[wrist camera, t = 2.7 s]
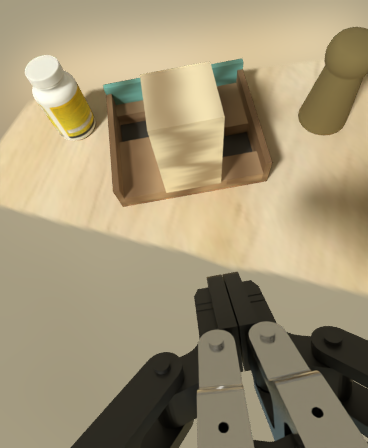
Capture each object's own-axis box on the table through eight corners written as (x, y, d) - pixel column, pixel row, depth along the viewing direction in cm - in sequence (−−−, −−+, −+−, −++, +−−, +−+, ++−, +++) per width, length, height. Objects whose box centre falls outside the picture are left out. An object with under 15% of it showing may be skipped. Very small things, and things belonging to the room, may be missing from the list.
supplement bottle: (103, 116, 43) (73, 55, 33) (85, 146, 41) (48, 90, 32) (71, 107, 44) (34, 46, 35) (52, 136, 42) (8, 79, 33)
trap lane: (238, 89, 42) (242, 58, 37) (266, 181, 36) (274, 157, 32) (115, 112, 43) (103, 84, 38) (123, 206, 37) (110, 187, 32)
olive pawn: (339, 141, 38) (386, 66, 27) (292, 127, 39) (320, 51, 29) (351, 106, 39) (399, 23, 29) (305, 94, 41) (336, 11, 31)
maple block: (210, 138, 37) (210, 61, 27) (221, 183, 35) (224, 116, 24) (159, 147, 37) (139, 74, 27) (166, 192, 35) (147, 131, 25)
